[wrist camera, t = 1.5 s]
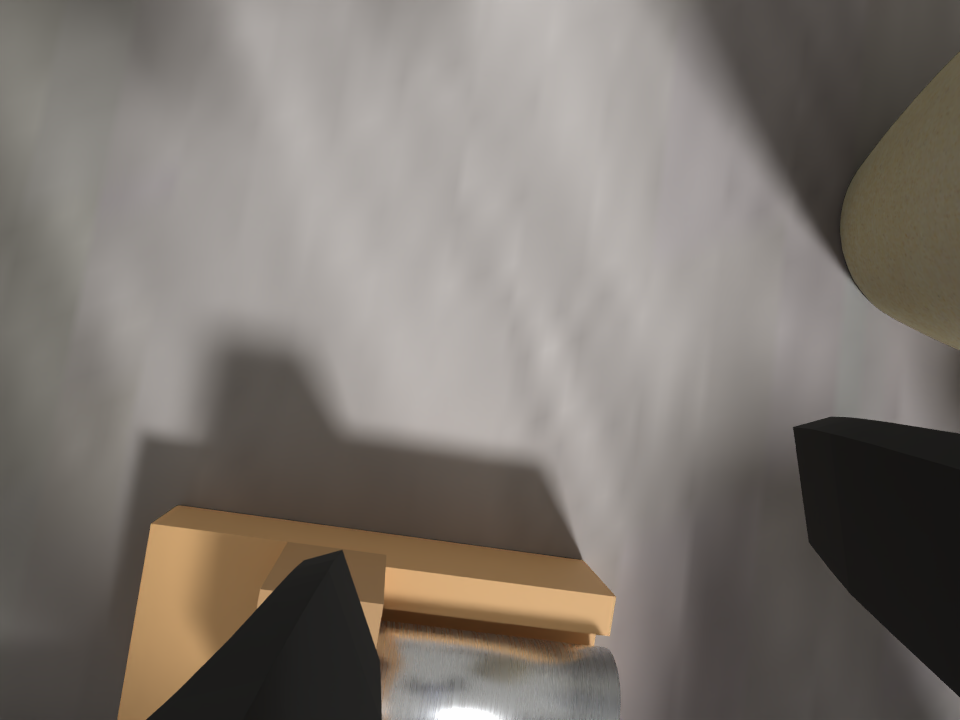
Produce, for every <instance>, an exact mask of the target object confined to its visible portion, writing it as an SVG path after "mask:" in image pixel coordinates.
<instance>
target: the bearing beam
mask: <svg viewBox="0 0 960 720" xmlns="http://www.w3.org/2000/svg"><path fill="white" fill-rule="evenodd" d="M339 550H343V553H344V556H345V559H346V562H347V565H348V568H349V570H350V573H351V576H352V579H353V582H354V585H355V588H356V591H357V594H358V597H359V600H360V603H361V606H362V609H363V612H364V615H365V618H366V621H367V624H368V627H369V630H370V633H371V636H372V639H373V642H374V645H375V647H376V646H377V640H378V634H379V629H380V623H381V620H383V621H391V622H400V623H408V624H416V625H424V626H433V627H441V628H449V629H458V630H466V631H474V632H482V633H491V634H499V635H507V636H515V637H524V638H532V639H540V640H548V641H557V642H565V643H573V644H581V645H590V646H594V642H595V636H596V635H604V636H610V630H611V624H612V618H613V612H614V606H615V600H616V596H615V595H614V594H613V593H612V592H611V591H610V590H609V589H608V587H607V586H606V585H605V584H604V583H603V582H602V581H601V580H600V578H599V577H598V576H597V575H596V574H595V573H594V572H593V571H592V570H591V568H590V567H589V566H588V565H587V564H586V563H585V562H584V561H583V560H578V559H570V558H563V557H556V556H548V555H541V554H534V553H526V552H519V551H511V550H504V549H497V548H489V547H482V546H475V545H467V544H460V543H453V542H445V541H438V540H431V539H423V538H416V537H409V536H401V535H394V534H386V533H379V532H372V531H364V530H357V529H350V528H342V527H335V526H328V525H320V524H313V523H306V522H298V521H291V520H284V519H276V518H269V517H262V516H254V515H247V514H239V513H232V512H225V511H217V510H210V509H203V508H195V507H188V506H181V505H177V506H176V507H174V508H173V509H172V510H170V511H169V512H167V513H166V514H164V515H163V516H161V517H160V518H158V519H157V520H156V521H154V522H153V523H151V526H150V532H149V538H148V544H147V549H146V555H145V561H144V567H143V573H142V578H141V584H140V590H139V596H138V602H137V608H136V613H135V619H134V625H133V631H132V637H131V642H130V648H129V654H128V660H127V666H126V671H125V677H124V683H123V689H122V695H121V700H120V706H119V712H118V718H117V720H146V719H147V718H148V717H149V716H151V715H152V714H153V713H154V712H155V711H156V710H157V709H158V708H159V707H161V706H162V705H163V704H164V703H165V702H166V701H167V700H168V699H169V698H170V697H171V696H173V695H174V694H175V693H176V692H177V691H178V690H179V689H180V688H181V687H182V686H183V685H184V684H185V683H186V682H187V681H188V680H189V679H190V678H191V677H192V676H193V675H194V674H195V673H196V672H197V671H198V670H199V669H200V668H201V667H202V666H203V665H204V664H205V663H206V662H207V661H208V660H209V659H210V658H211V657H212V656H213V655H214V654H215V653H216V652H217V651H218V650H219V649H220V648H221V647H222V646H223V645H224V644H225V643H226V642H227V641H228V640H229V639H230V638H231V637H232V635H233V634H234V633H235V632H236V631H237V630H238V629H239V628H240V627H241V626H242V625H243V623H244V622H245V621H246V620H247V619H248V618H249V617H250V616H251V615H252V614H253V613H254V612H255V610H256V609H257V608H258V607H259V606H260V605H261V604H262V603H263V602H264V601H265V599H266V598H267V597H268V596H269V595H270V594H271V593H272V592H273V591H274V590H275V588H276V587H277V586H278V585H279V584H280V583H281V582H282V581H283V580H284V579H285V578H286V577H287V576H288V575H289V573H290V572H291V571H292V570H293V569H294V568H295V567H297V566H298V565H299V564H300V563H301V562H302V561H303V560H306V559H310V558H314V557H317V556H321V555H325V554H328V553H332V552H336V551H339Z"/></svg>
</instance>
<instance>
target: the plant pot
mask: <svg viewBox="0 0 960 720" xmlns="http://www.w3.org/2000/svg"><path fill="white" fill-rule="evenodd" d="M840 236H841V244H842V250H843V254H844V257H845V260H846V263H847V266H848V269H849V271H850V273H851V276H852V278H853V280H854V281H855V283H856V284H857V286H858V287H859V289H860V290H861V291H862V293H863V294H864V295H865V296H866V297H867V299H868V300H869V301H870V302H871V303H872V304H873V305H874V306H875V307H877V308H878V309H879V310H881V311H882V312H883V313H885V314H887V315H889V316H890V317H892V318H894V319H895V320H897V321H899V322H901V323H903V324H905V325H907V326H909V327H911V328H913V329H915V330H917V331H919V332H921V333H923V334H925V335H927V336H929V337H931V338H933V339H935V340H938V341H940V342H942V343H944V344H946V345H948V346H951V347H953V348H955V349H958V350H960V51H959V52H958V53H957V55H956V56H955V57H954V58H953V59H952V60H951V61H950V62H949V63H948V64H947V65H946V66H945V67H944V68H943V69H942V70H941V71H940V72H939V73H938V74H937V75H936V76H935V77H934V78H933V80H932V81H931V82H930V83H929V84H928V85H927V86H926V87H925V88H924V89H923V91H922V92H921V93H920V94H919V95H918V96H917V97H916V98H915V99H914V101H913V102H912V103H911V104H910V105H909V106H908V108H907V109H906V110H905V111H904V112H903V113H902V115H901V116H900V117H899V118H898V119H897V121H896V122H895V123H894V124H893V125H892V126H891V128H890V129H889V130H888V131H887V133H886V134H885V135H884V136H883V138H882V139H881V140H880V142H879V143H878V144H877V145H876V147H875V148H874V149H873V151H872V152H871V153H870V154H869V156H868V157H867V158H866V160H865V161H864V162H863V164H862V165H861V166H860V168H859V169H858V171H857V172H856V174H855V176H854V177H853V179H852V181H851V183H850V185H849V187H848V189H847V192H846V195H845V198H844V202H843V207H842V212H841V221H840Z"/></svg>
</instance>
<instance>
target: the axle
mask: <svg viewBox="0 0 960 720" xmlns="http://www.w3.org/2000/svg"><path fill="white" fill-rule="evenodd" d="M376 650H377V653H378V656H379V659H380V672H381V700H382V720H620V683H619V676H618V670H617V666H616V663H615V660H614V657H613V655H612V653H611V652H610V650H609V649H607V648H605V647H598V646H590V645H581V644H573V643H565V642H557V641H548V640H540V639H532V638H524V637H515V636H507V635H499V634H491V633H482V632H474V631H466V630H458V629H449V628H441V627H433V626H424V625H416V624H408V623H400V622H391V621H383V620H381V623H380V629H379V634H378V640H377V646H376Z"/></svg>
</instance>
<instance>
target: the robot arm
mask: <svg viewBox="0 0 960 720" xmlns="http://www.w3.org/2000/svg"><path fill="white" fill-rule="evenodd" d="M793 430H794V437H795V444H796V452H797V459H798V466H799V473H800V481H801V488H802V495H803V503H804V510H805V517H806V524H807V532H808V539H809V543H810V544H811V546H812V547H813V548H814V549H815V551H816V552H817V553H818V555H819V556H820V557H821V558H822V560H823V561H824V562H825V564H826V565H827V566H828V567H829V569H830V570H831V571H832V572H833V574H834V575H835V576H836V577H837V578H838V580H839V581H840V582H841V583H842V584H843V586H844V587H845V588H846V589H847V590H848V592H849V593H850V594H851V595H852V596H853V597H854V598H855V599H856V600H857V601H858V602H859V603H860V604H861V605H862V606H864V607H865V608H866V609H867V610H868V611H869V612H870V613H871V614H872V615H873V616H874V617H875V618H876V619H877V620H878V621H879V622H880V623H881V624H882V625H883V626H884V627H885V628H887V629H888V630H889V631H890V632H891V633H892V634H893V635H894V636H895V637H896V638H897V639H898V640H899V641H900V642H901V643H902V644H904V645H905V646H906V647H907V648H908V649H909V650H910V651H911V652H912V653H913V654H914V655H915V656H916V657H917V658H919V659H920V660H921V661H922V662H923V663H924V664H925V665H926V666H927V667H928V668H929V669H930V670H931V671H932V672H933V673H935V674H936V675H937V676H938V677H939V678H940V679H941V680H942V681H943V682H944V683H945V684H946V685H947V686H948V687H949V688H951V689H952V690H953V691H954V692H955V693H956V694H957V695H958V696H959V697H960V434H958V433H952V432H945V431H939V430H933V429H927V428H921V427H914V426H908V425H902V424H895V423H889V422H882V421H875V420H867V419H859V418H848V417H828V418H825V419H821V420H817V421H814V422H810V423H806V424H803V425H799V426H795V427H793ZM146 720H382V700H381V672H380V659H379V656H378V653H377V650H376V647H375V645H374V642H373V639H372V636H371V633H370V630H369V627H368V624H367V621H366V618H365V615H364V612H363V609H362V606H361V603H360V600H359V597H358V594H357V591H356V588H355V585H354V582H353V579H352V576H351V573H350V570H349V568H348V565H347V562H346V559H345V556H344V553H343V550H339V551H336V552H332V553H328V554H325V555H321V556H317V557H314V558H310V559H306V560H303V561H302V562H301V563H300V564H299V565H298V566H297V567H295V568H294V569H293V570H292V571H291V572H290V573H289V575H288V576H287V577H286V578H285V579H284V580H283V581H282V582H281V583H280V584H279V585H278V586H277V587H276V588H275V590H274V591H273V592H272V593H271V594H270V595H269V596H268V597H267V598H266V599H265V601H264V602H263V603H262V604H261V605H260V606H259V607H258V608H257V609H256V610H255V612H254V613H253V614H252V615H251V616H250V617H249V618H248V619H247V620H246V621H245V622H244V623H243V625H242V626H241V627H240V628H239V629H238V630H237V631H236V632H235V633H234V634H233V635H232V637H231V638H230V639H229V640H228V641H227V642H226V643H225V644H224V645H223V646H222V647H221V648H220V649H219V650H218V651H217V652H216V653H215V654H214V655H213V656H212V657H211V658H210V659H209V660H208V661H207V662H206V663H205V664H204V665H203V666H202V667H201V668H200V669H199V670H198V671H197V672H196V673H195V674H194V675H193V676H192V677H191V678H190V679H189V680H188V681H187V682H186V683H185V684H184V685H183V686H182V687H181V688H180V689H179V690H178V691H177V692H176V693H175V694H174V695H173V696H171V697H170V698H169V699H168V700H167V701H166V702H165V703H164V704H163V705H162V706H161V707H159V708H158V709H157V710H156V711H155V712H154V713H153V714H152V715H151V716H149V717H148V718H147V719H146Z"/></svg>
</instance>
